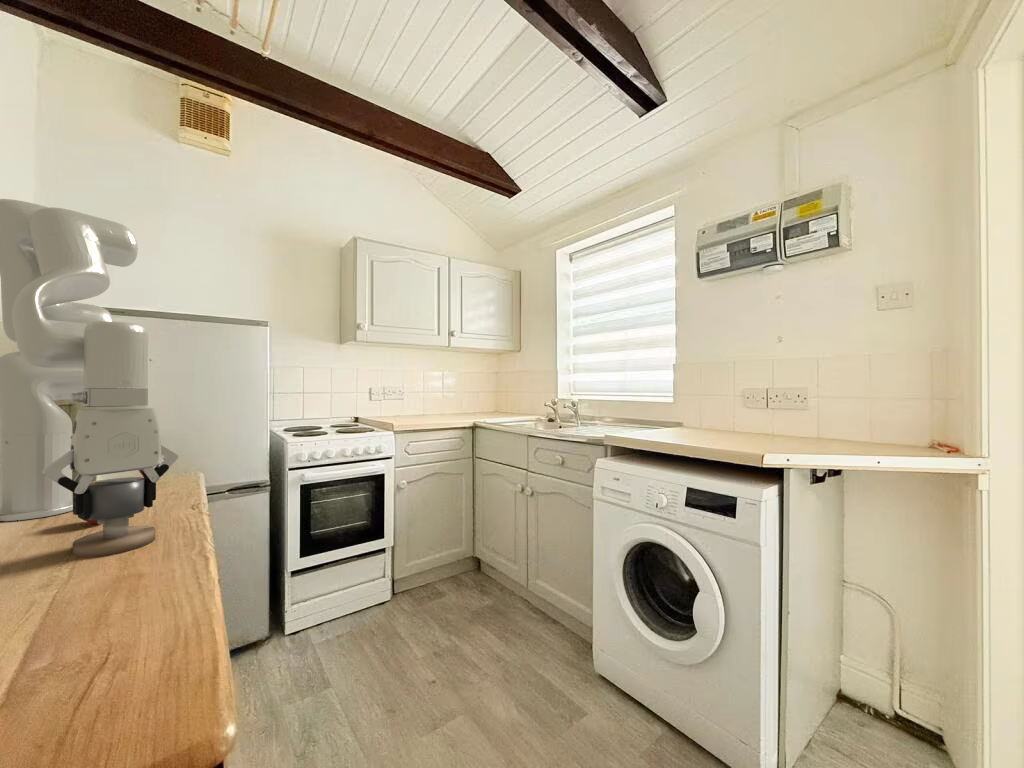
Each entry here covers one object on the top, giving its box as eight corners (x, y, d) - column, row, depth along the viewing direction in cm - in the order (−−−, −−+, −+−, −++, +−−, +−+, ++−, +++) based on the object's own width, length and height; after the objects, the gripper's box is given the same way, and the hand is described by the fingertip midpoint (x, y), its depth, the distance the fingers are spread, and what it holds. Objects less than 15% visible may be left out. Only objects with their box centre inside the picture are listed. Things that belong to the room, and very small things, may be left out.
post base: (63, 549, 66) (63, 516, 66) (141, 530, 74) (141, 502, 74) (84, 562, 61) (84, 527, 61) (165, 541, 69) (165, 510, 69)
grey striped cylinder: (74, 521, 63) (74, 487, 63) (109, 506, 71) (109, 476, 71) (128, 517, 65) (128, 484, 65) (157, 503, 73) (157, 473, 73)
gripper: (43, 402, 58) (42, 532, 58) (191, 398, 73) (191, 502, 73) (29, 401, 62) (29, 523, 62) (172, 398, 77) (172, 496, 77)
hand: (116, 511), depth 67 cm, fingers closed on grey striped cylinder, 6 cm apart
